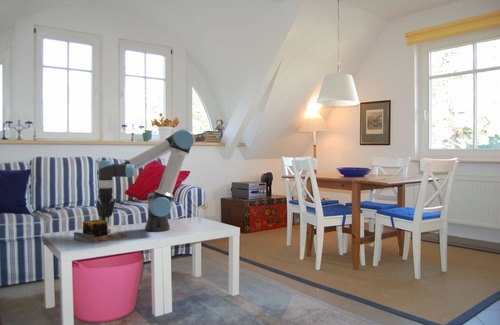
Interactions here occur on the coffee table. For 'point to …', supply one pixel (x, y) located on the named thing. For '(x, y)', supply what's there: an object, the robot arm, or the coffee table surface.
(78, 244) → the coffee table surface
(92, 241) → the bay
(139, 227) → the coffee table surface
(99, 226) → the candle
